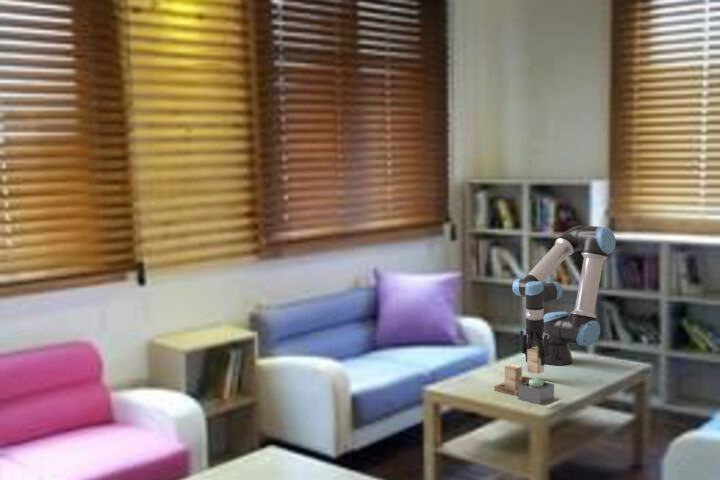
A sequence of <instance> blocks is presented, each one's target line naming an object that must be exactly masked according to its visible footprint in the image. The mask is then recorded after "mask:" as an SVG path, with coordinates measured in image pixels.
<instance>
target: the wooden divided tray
mask: <svg viewBox="0 0 720 480" xmlns="http://www.w3.org/2000/svg"><path fill="white" fill-rule="evenodd" d="M530 379H536V378H535V377H529V376H526V375H522V383H524V382H527V381H529V380H530ZM542 380H543V379H542ZM543 382H545V380H543ZM493 390H494V392H498V393H502V394H506V395H511V396H513V397H514V396H515V397H518V389H517V390H514V389H509V388H505V381H503V382H501V383H499V384H496V385H494V389H493Z"/></svg>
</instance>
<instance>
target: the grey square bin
mask: <svg viewBox="0 0 720 480" xmlns="http://www.w3.org/2000/svg"><path fill="white" fill-rule="evenodd" d="M554 398H555V384H554V383H550V382H543V387H540V388H536V387H531V386H529V381H527V382H524V383H522V384H519V385H518V396H517V400H520V401H522V402H527V403H532V404H536V405H539V406H540V405H543V404H545V403H547V402H550V401H552V400H554Z"/></svg>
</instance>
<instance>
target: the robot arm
mask: <svg viewBox="0 0 720 480" xmlns="http://www.w3.org/2000/svg"><path fill="white" fill-rule="evenodd" d="M616 244H617V243H616V236H615V234H614V231H613V230H611V228H609V227H606V226H605V227H604V226H596V225H594V226H593V225H582V224H580V225H576V226H573V227H571V228H569V229H567V230H566V231H565V232H564V233H562V234H561V235H560V236H559V237H558V238H557V239H556V240H555V242H554V245H553V246H552V247H551V249H549V250H548V251H547V253H546V254H544V256H543V257H542V258H541V259H540V260H539V261H538V263H536V265H535V266H534V267H533V268H532V269H531V270H530V271H529V272H528V274H526V276H524V277H523V278H517V279H515V280H514V281H513V283H512V288H511V289H512V292H513V294H514V295H516V296H518V297H524V298H525V327H526V328H525V329H522V330H520V331H519V332H520V336H521V338H520V339H521V341H520V343H521V344H520V345H521V351H520V352H521V353H522V354H524V355H525V363H527V349H530V348H532V347H533V343H534V341H535V342H536V344H537V348H538V350H539V354H540V357H539V374H542V373H543V372H545V365H551V366H566V365H570V364H572V363H573V355H572V352H571V349H570V346H569V343H570V344H575V345H579V346H586V347H590V346H592V345H593V344H594V343H595V342H596V341H597V340H598V339H599V336H600V333H601V325H600V323H599V322H598V321H597V316H596V314H595V309H596V304H597V299H598V293H599V287H600V281H601V276H602V272H603V270H602V269H603V264H604V261H606V260H607V259H608V257H609V255H610V254H612V253H613V252H614V250H615V249H616ZM577 251H578V252H579V251H581V253H580V255H582V257H583V261H582V266H581V267H582V268H581V272H580V276H579V277H580V278H579V284H578V289H577V295H576V299H575V300H576V301H575V306H574V309H573V310H572V311H571V312H570V313H569V312H568V311H552V312H547V313H545V312H544V310H545V307H544V306H545V305H544V303H547V302H551V301H556V300H558V299H560V298H561V297H562V296H563V292H564V291H563V290H564V289H563V287H562V285H561V284H560V283H559V282H557V281H551V282H545V281H546V280H547V279H548V278H549V277H550V275H552V273H553V272H554V271H555V270H556V269H557V268H558V267H559V266H560V265H561V263H563V261H565V259H566V258H567V257H568V256H572V255H573V254H574V253H575V252H577ZM544 313H545V314H544ZM526 369H527V368H526ZM526 371H528V369H527V370H526Z"/></svg>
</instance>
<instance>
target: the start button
mask: <svg viewBox="0 0 720 480" xmlns="http://www.w3.org/2000/svg"><path fill="white" fill-rule="evenodd" d="M529 386H531V387H536V388H540V387H543V379H541V378H535V379H530V380H529Z"/></svg>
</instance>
